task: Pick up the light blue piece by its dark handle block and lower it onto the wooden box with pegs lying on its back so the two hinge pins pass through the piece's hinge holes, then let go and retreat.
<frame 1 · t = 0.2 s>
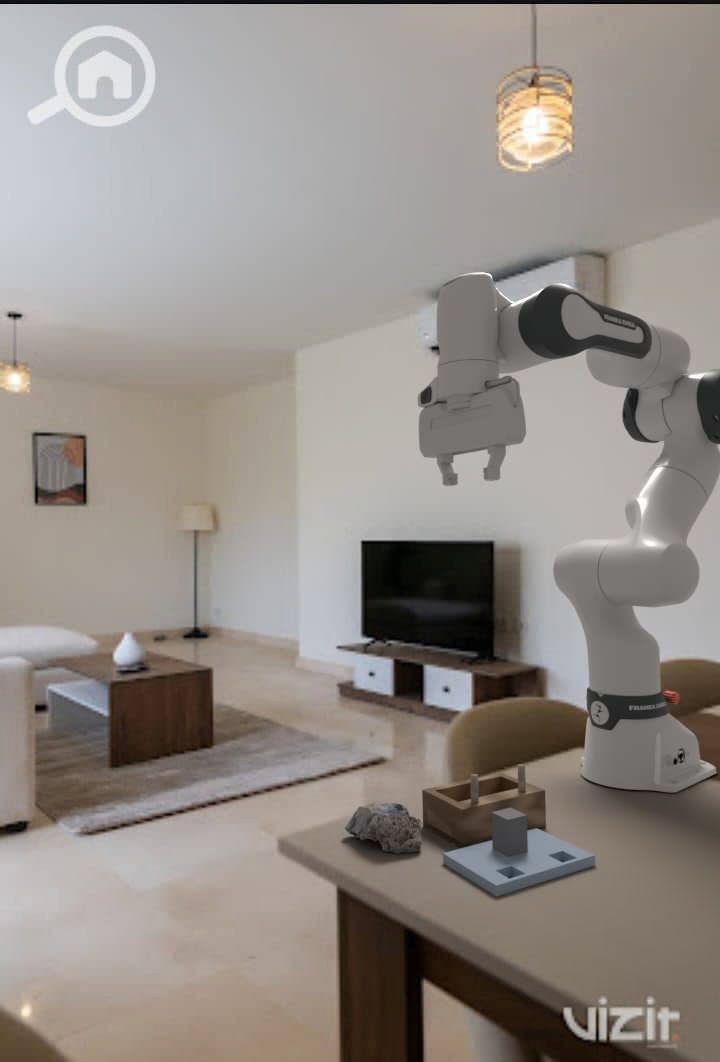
hand: (470, 483, 107), 47 cm above the table, fingers open, 8 cm apart
light blue piece: (518, 864, 89), on the table
mineral specimen: (386, 844, 97), on the table
wooden box with pegs: (484, 826, 101), on the table
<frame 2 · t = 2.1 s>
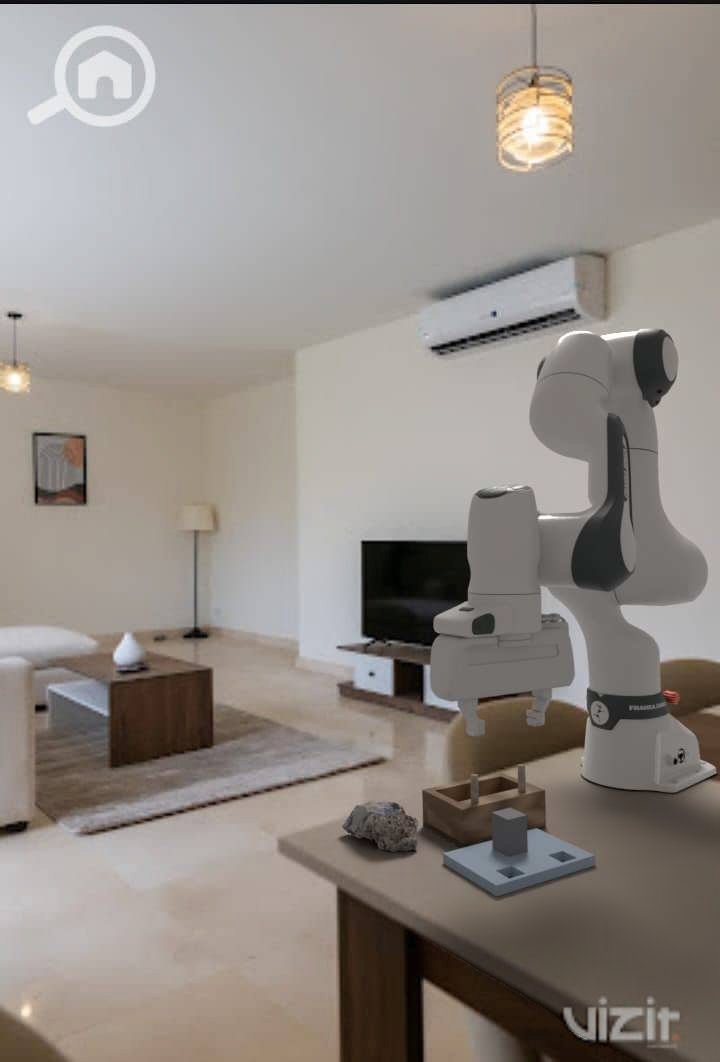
hand: (506, 729, 91), 16 cm above the table, fingers open, 8 cm apart
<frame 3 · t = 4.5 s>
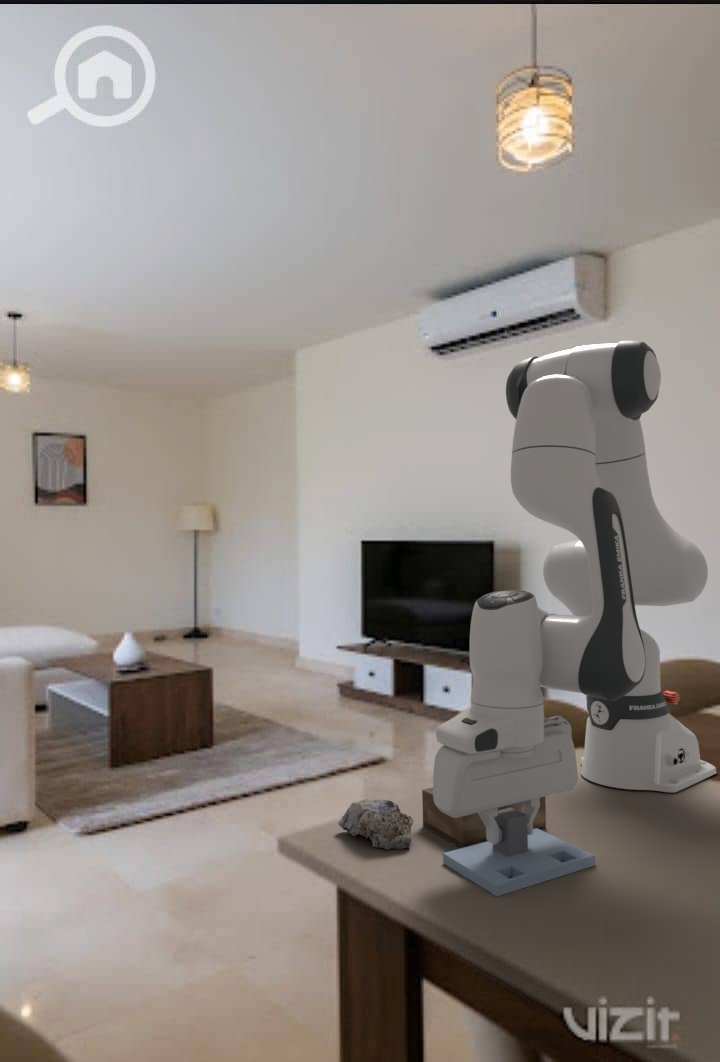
hand: (509, 838, 91), 3 cm above the table, fingers closed on light blue piece, 3 cm apart
light blue piece: (518, 864, 89), on the table, touching gripper
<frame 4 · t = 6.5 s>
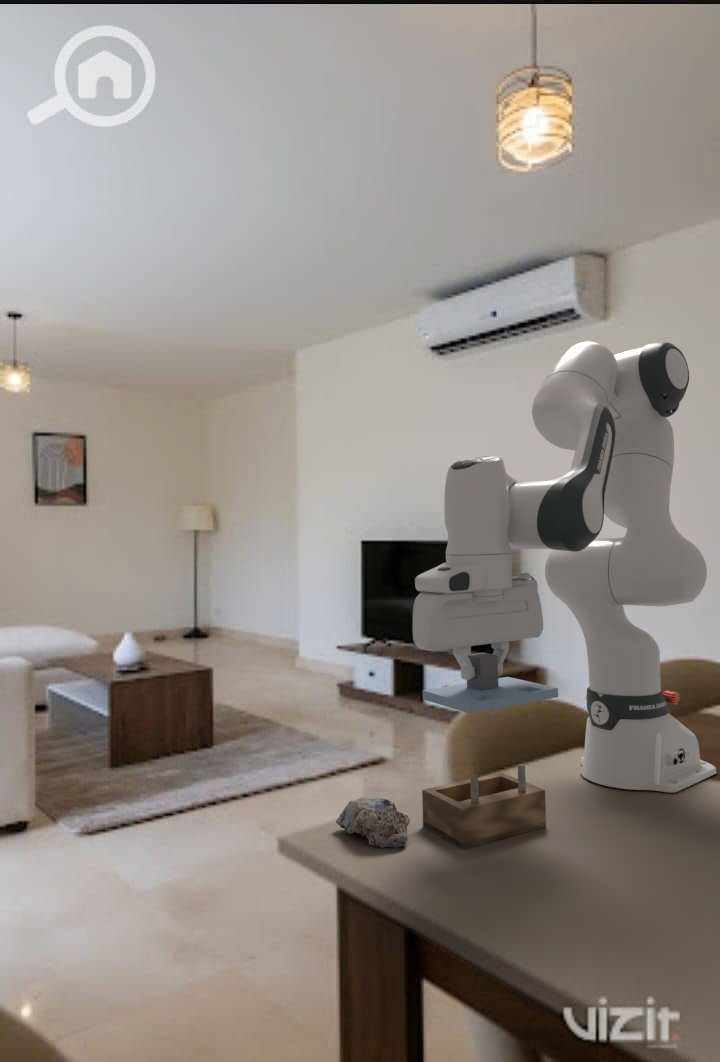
hand: (482, 677, 101), 20 cm above the table, fingers closed on light blue piece, 3 cm apart
light blue piece: (490, 698, 100), point 18 cm above the table, touching gripper
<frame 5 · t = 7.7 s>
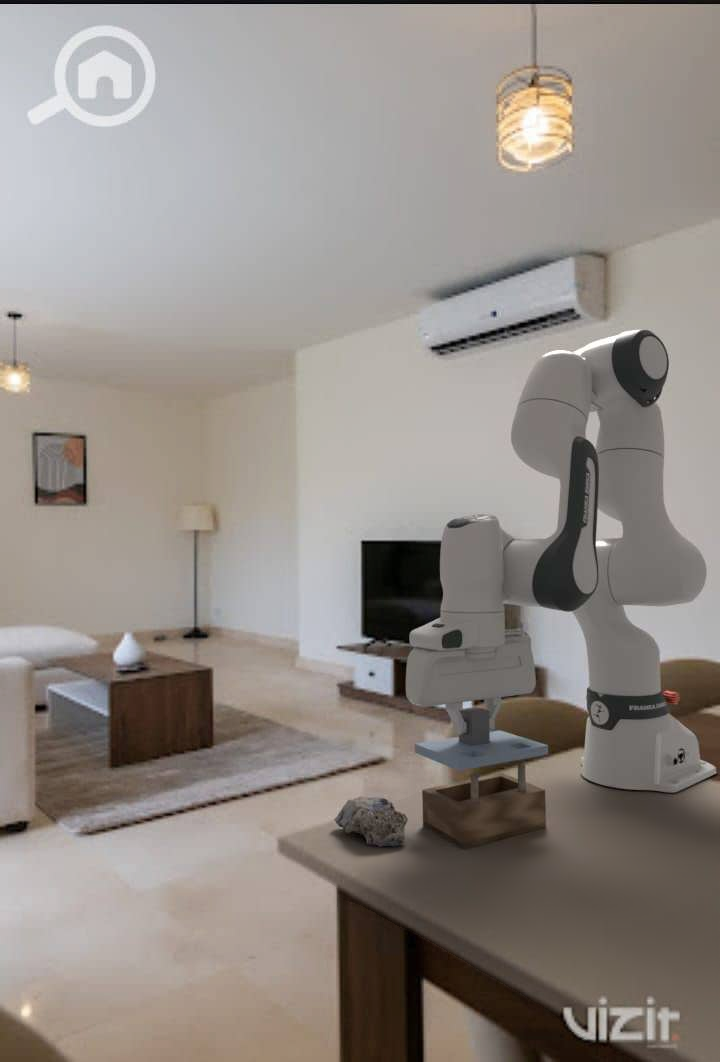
hand: (473, 732, 103), 13 cm above the table, fingers closed on light blue piece, 3 cm apart
light blue piece: (481, 753, 101), point 10 cm above the table, touching gripper
when the fingers open (9 cm above the table, at t = 8.6 s): light blue piece drops 1 cm, resting on wooden box with pegs.
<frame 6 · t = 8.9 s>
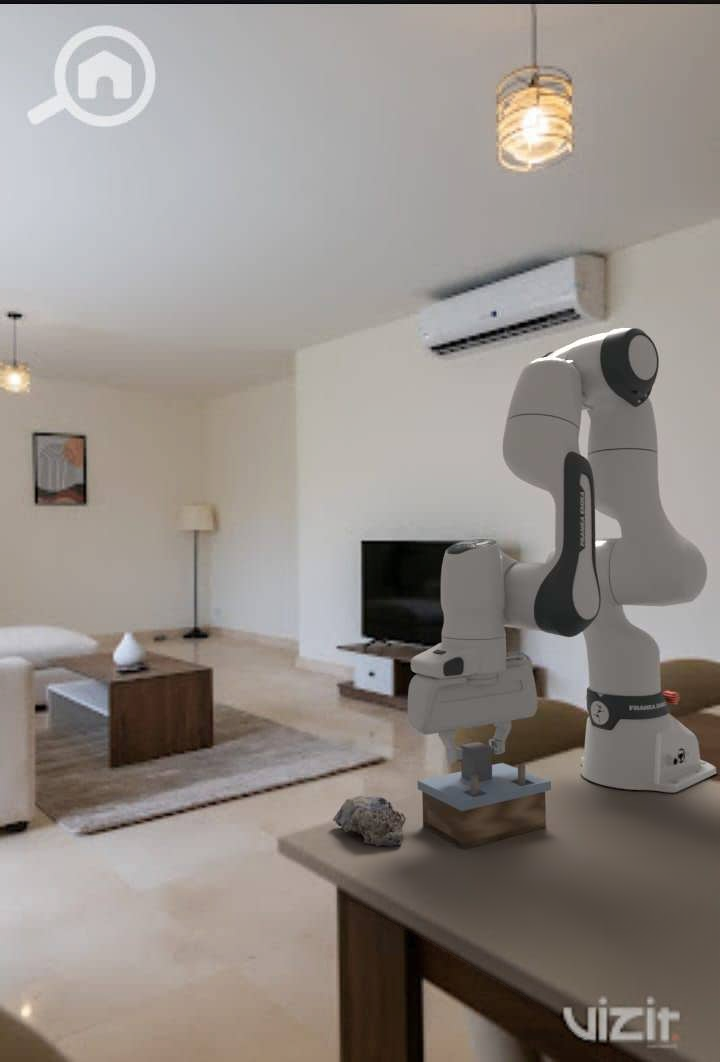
hand: (476, 756, 103), 9 cm above the table, fingers open, 6 cm apart
light blue piece: (483, 789, 101), point 5 cm above the table, touching wooden box with pegs
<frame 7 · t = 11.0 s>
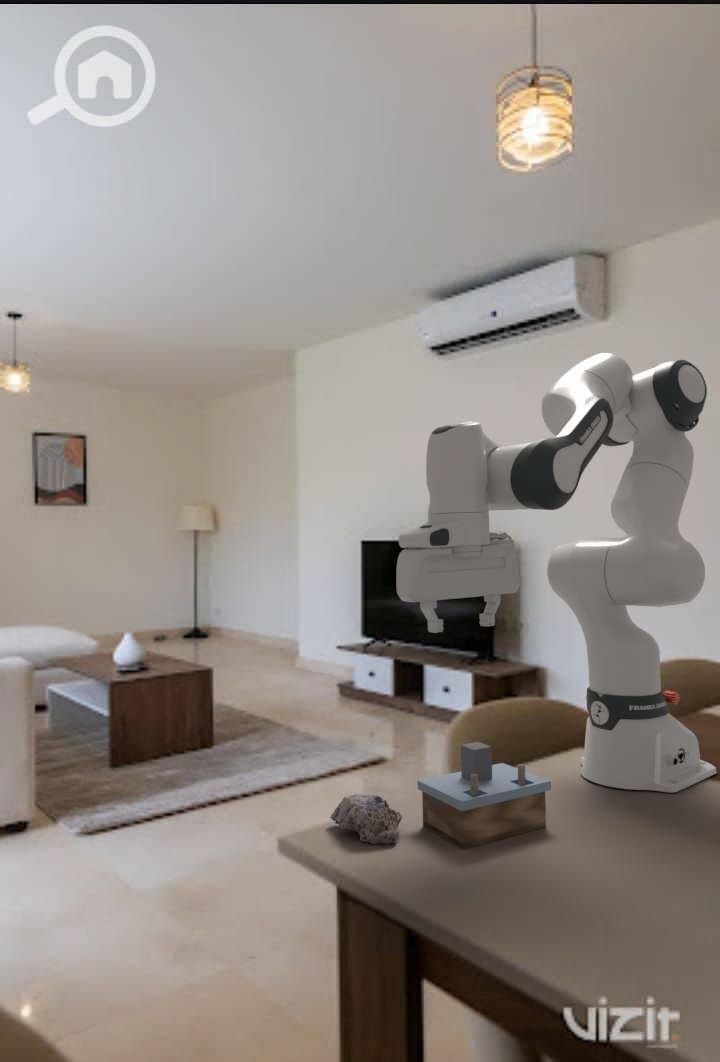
hand: (462, 628, 108), 26 cm above the table, fingers open, 8 cm apart
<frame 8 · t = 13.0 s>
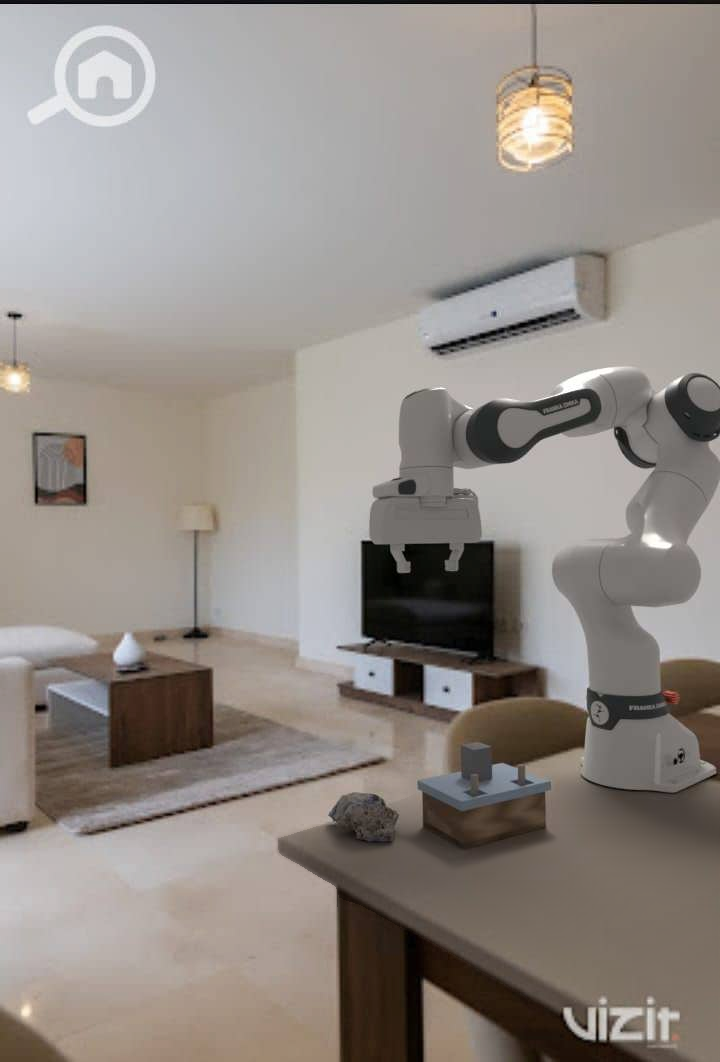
hand: (428, 571, 121), 34 cm above the table, fingers open, 8 cm apart
at the end: light blue piece 0.1 cm off-centre on the wooden box with pegs, point 5.0 cm above the wooden box with pegs's base; light blue piece tilted 0°; the gripper is holding nothing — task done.
